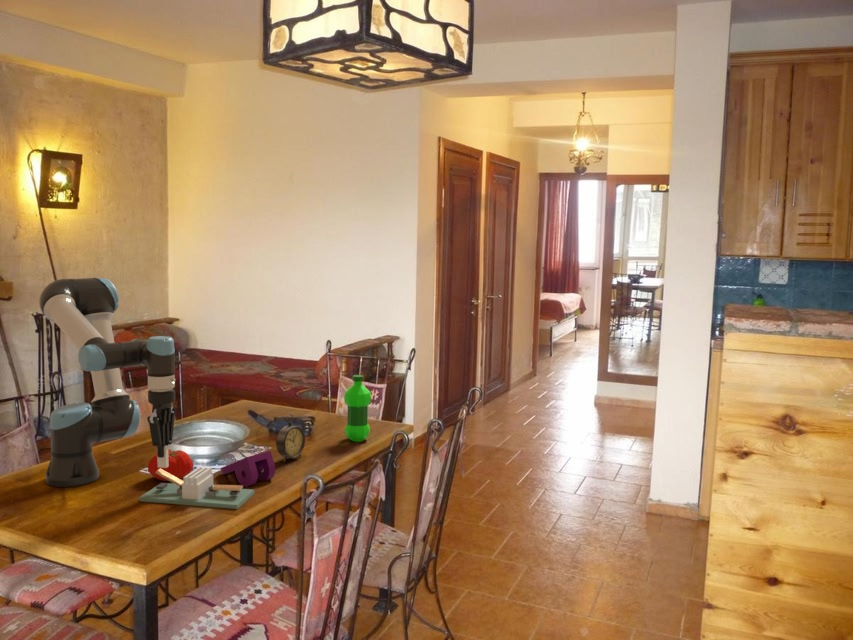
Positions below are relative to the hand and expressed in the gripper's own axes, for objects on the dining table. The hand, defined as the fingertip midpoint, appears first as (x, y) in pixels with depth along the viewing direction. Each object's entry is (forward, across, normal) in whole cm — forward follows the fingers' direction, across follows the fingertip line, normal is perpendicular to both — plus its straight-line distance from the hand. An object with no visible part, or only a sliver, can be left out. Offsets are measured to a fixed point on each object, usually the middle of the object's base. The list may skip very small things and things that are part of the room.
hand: (163, 466), depth 219 cm
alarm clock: (+9, +42, -25) cm, 49 cm away
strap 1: (+4, 0, -2) cm, 5 cm away
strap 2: (+6, 0, -20) cm, 20 cm away
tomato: (+9, +15, +5) cm, 18 cm away
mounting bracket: (+9, +19, -18) cm, 28 cm away
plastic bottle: (+9, +71, -42) cm, 83 cm away
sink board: (+9, 0, -11) cm, 14 cm away
